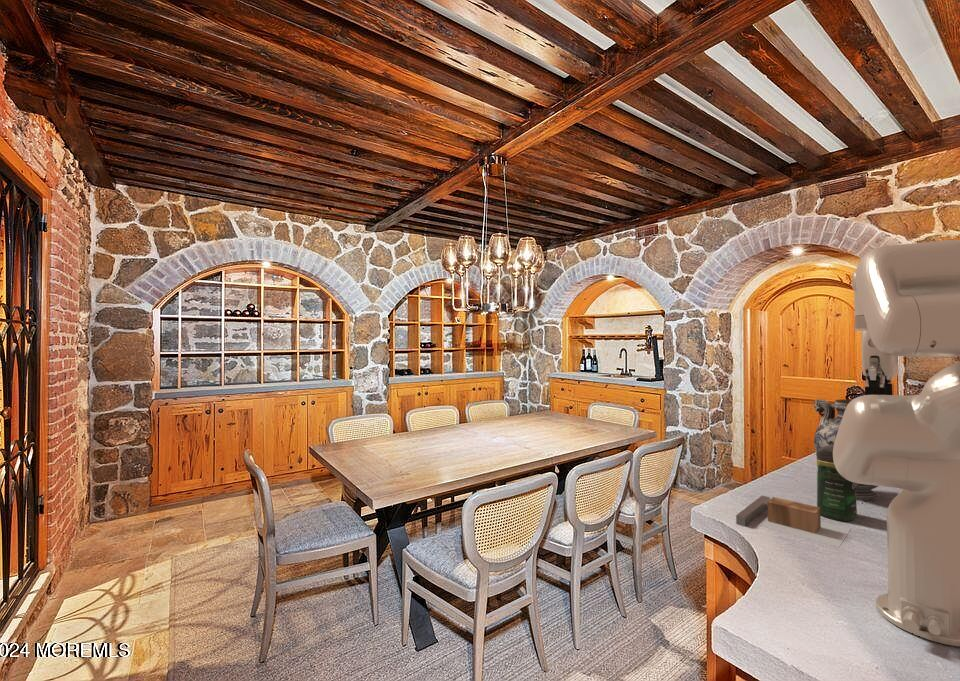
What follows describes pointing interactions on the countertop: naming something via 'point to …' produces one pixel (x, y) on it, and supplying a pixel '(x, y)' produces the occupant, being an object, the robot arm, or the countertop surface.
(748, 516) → the steel bar
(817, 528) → the walnut block
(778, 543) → the countertop surface
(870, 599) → the countertop surface
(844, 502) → the coffee jar
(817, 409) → the decorative vase
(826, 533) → the mat
